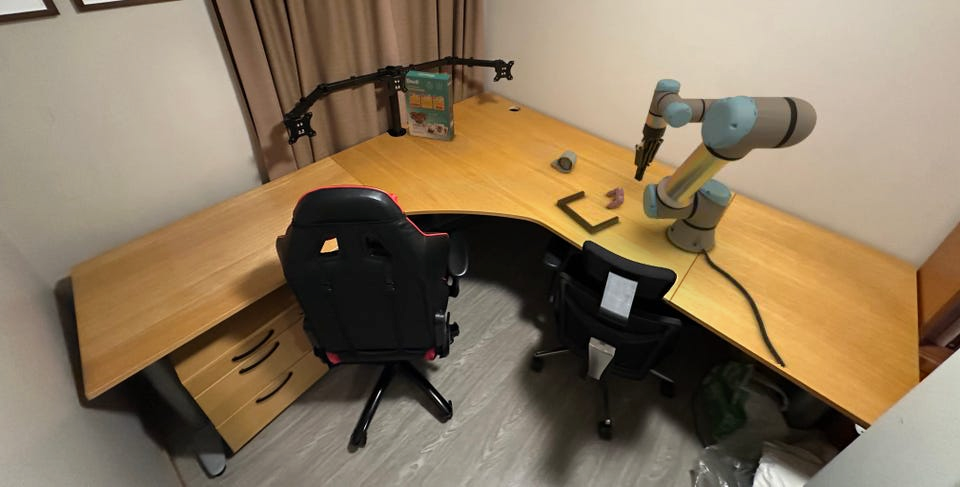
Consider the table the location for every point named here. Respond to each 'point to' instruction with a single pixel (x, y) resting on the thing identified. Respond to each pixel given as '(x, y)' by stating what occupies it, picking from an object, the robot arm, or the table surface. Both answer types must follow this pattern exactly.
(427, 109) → the cake mix box
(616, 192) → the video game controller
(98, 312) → the table surface
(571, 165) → the ceramic mug
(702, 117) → the robot arm
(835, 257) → the table surface
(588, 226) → the holder
